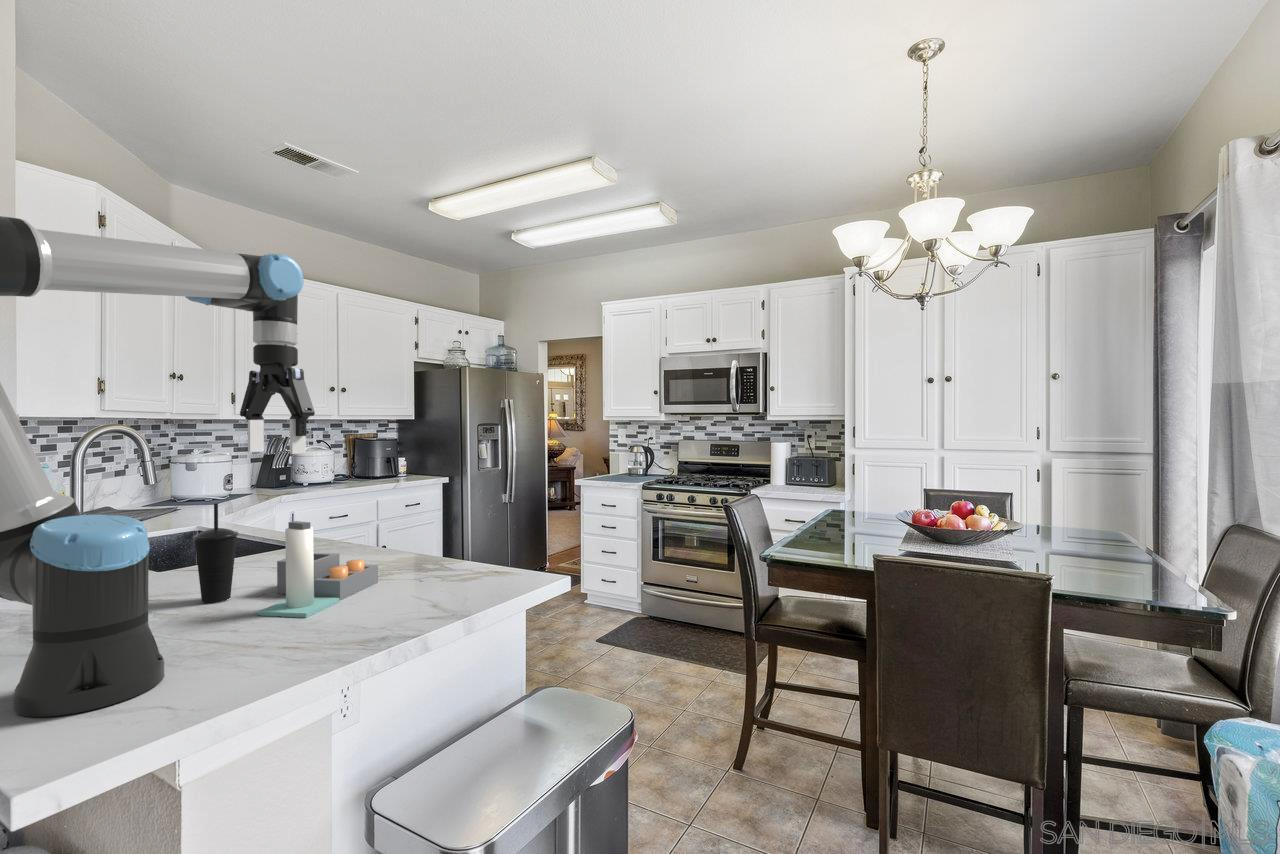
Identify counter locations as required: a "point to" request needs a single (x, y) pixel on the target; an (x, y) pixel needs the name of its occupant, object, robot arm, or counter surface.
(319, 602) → the mat
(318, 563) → the grey stepped holder
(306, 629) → the counter surface
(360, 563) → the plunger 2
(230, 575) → the drinking cup
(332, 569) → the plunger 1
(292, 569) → the cylinder
